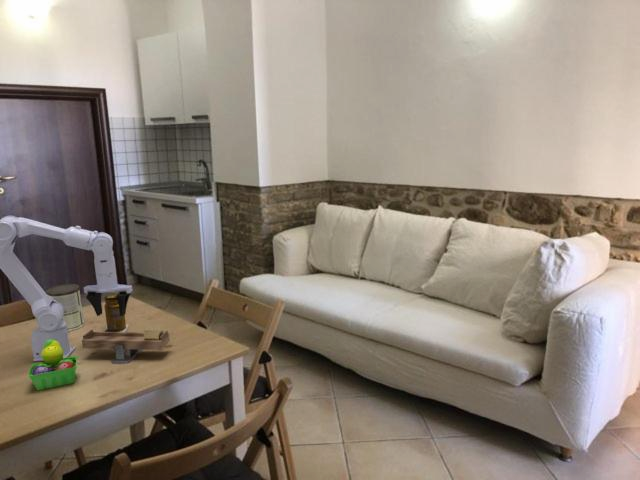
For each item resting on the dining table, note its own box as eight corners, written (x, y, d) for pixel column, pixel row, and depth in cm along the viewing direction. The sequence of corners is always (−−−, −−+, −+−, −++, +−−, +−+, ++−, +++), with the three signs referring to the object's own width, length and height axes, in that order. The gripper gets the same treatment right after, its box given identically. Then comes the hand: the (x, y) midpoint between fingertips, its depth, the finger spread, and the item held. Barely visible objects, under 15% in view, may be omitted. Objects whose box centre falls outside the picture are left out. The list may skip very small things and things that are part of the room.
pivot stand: (111, 363, 146) (109, 346, 145) (128, 348, 156) (126, 332, 155) (128, 363, 145) (126, 346, 144) (143, 348, 156) (141, 332, 154)
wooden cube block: (144, 342, 147) (143, 330, 146) (150, 337, 151) (148, 324, 150) (159, 343, 147) (158, 330, 146) (164, 337, 151) (163, 325, 150)
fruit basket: (30, 394, 130) (23, 353, 127) (34, 379, 138) (28, 341, 135) (79, 384, 134) (73, 345, 132) (80, 370, 142) (74, 333, 140)
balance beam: (82, 350, 148) (80, 337, 147) (94, 341, 154) (93, 328, 154) (161, 352, 146) (160, 338, 145) (170, 342, 152) (168, 329, 151)
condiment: (129, 324, 176) (125, 291, 173) (125, 333, 168) (121, 299, 165) (107, 326, 175) (102, 293, 172) (102, 335, 166) (97, 301, 164)
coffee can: (46, 328, 175) (40, 289, 172) (75, 319, 183) (69, 282, 180) (61, 334, 169) (55, 294, 166) (90, 324, 177) (85, 286, 174)
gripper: (76, 276, 150) (82, 319, 152) (122, 276, 148) (127, 319, 151) (88, 270, 156) (94, 311, 159) (133, 269, 155) (138, 311, 158)
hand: (111, 314), depth 156 cm, fingers open, 7 cm apart
